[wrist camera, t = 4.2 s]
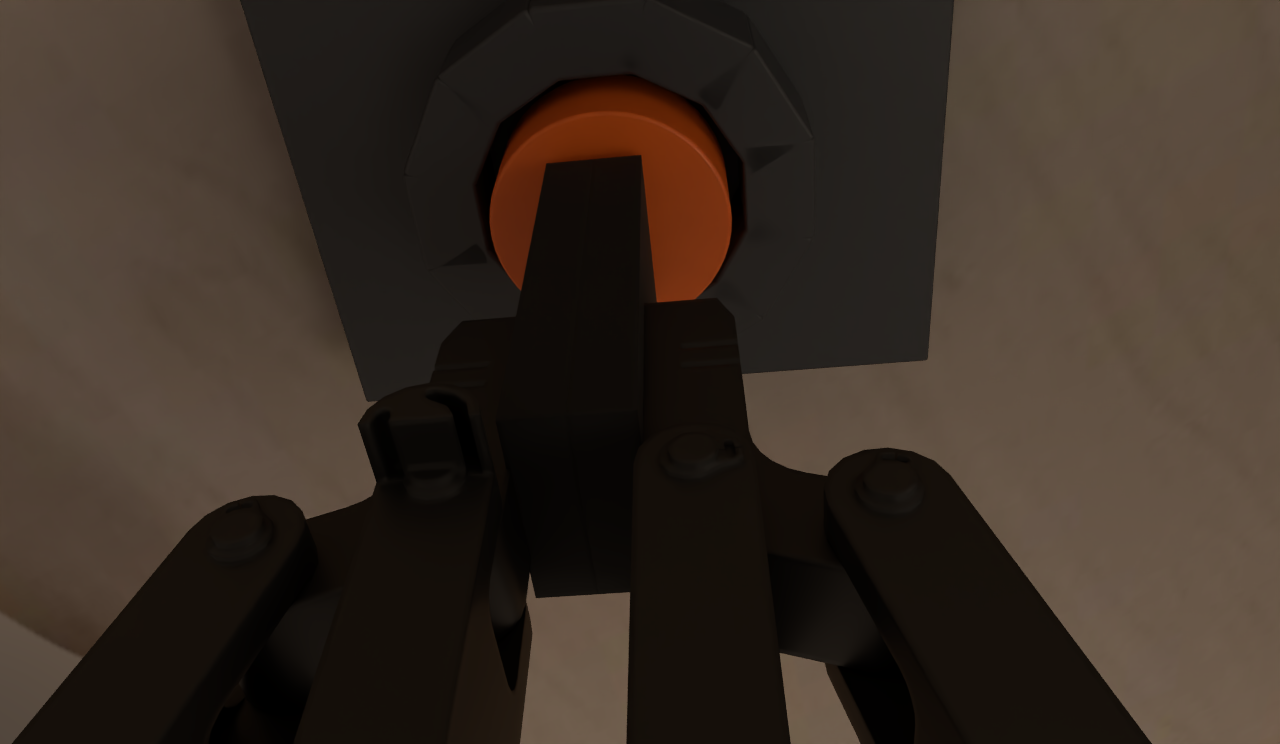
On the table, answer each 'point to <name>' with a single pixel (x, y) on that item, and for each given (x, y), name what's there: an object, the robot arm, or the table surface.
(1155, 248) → the table surface
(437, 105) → the control block
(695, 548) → the robot arm
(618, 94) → the button
